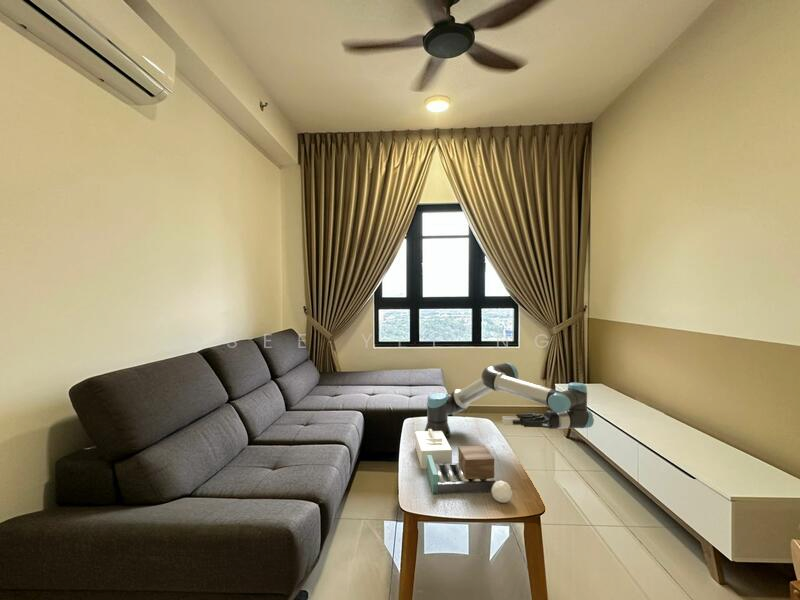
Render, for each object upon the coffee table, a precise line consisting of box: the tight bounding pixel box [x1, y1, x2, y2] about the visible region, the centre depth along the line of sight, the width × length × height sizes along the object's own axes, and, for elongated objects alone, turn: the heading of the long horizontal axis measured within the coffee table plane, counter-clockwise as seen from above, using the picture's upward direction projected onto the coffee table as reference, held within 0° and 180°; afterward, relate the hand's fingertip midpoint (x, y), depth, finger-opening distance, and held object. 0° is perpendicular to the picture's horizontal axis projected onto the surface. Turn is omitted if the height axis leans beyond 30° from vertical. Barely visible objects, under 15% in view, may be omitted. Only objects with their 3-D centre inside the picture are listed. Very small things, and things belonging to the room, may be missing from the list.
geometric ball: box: [490, 480, 513, 504], centre depth 143 cm, size 8×8×8 cm
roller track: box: [426, 462, 501, 495], centre depth 159 cm, size 19×28×4 cm, turn 93°
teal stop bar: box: [426, 455, 439, 495], centre depth 158 cm, size 19×2×8 cm, turn 3°
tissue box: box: [414, 429, 453, 470], centre depth 184 cm, size 14×25×11 cm, turn 4°
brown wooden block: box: [457, 445, 495, 480], centre depth 159 cm, size 14×12×8 cm
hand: (503, 420), depth 160 cm, fingers open, 2 cm apart
